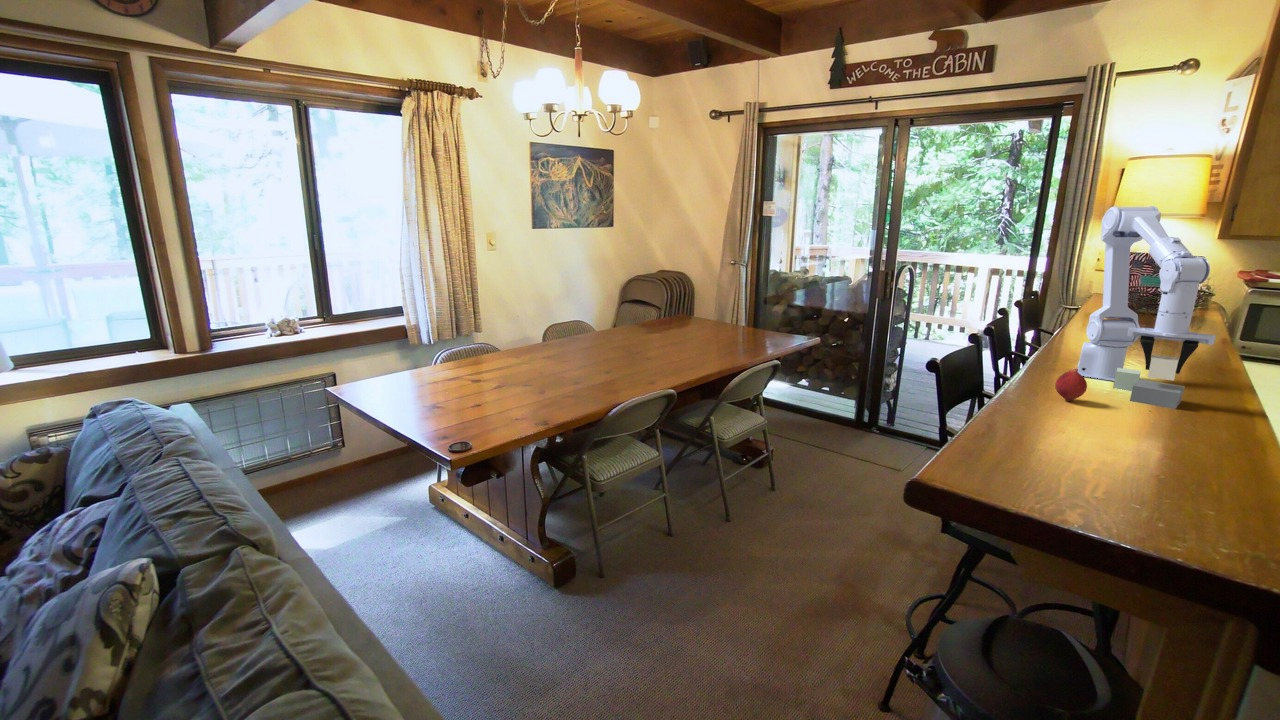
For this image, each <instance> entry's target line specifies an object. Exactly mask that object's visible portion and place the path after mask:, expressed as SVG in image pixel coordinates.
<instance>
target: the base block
mask: <svg viewBox="0 0 1280 720" xmlns="http://www.w3.org/2000/svg"><path fill="white" fill-rule="evenodd" d="M1185 387H1186V386H1184V385H1177V384H1172V383H1166V382H1160V381H1152V380H1147V379H1140V378H1139V381H1137V382H1136V383H1135V384H1134V385H1133V388H1132V391H1131V393H1130V397H1129V398H1130V399H1129V402H1132V403H1133V402H1134V403H1139V404H1144V405H1149V406H1155V407H1161V408H1166V409H1171V410H1176V409H1178V407H1179V405H1180V404H1181V403H1182V399H1183V395H1184V390H1185Z"/></svg>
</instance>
